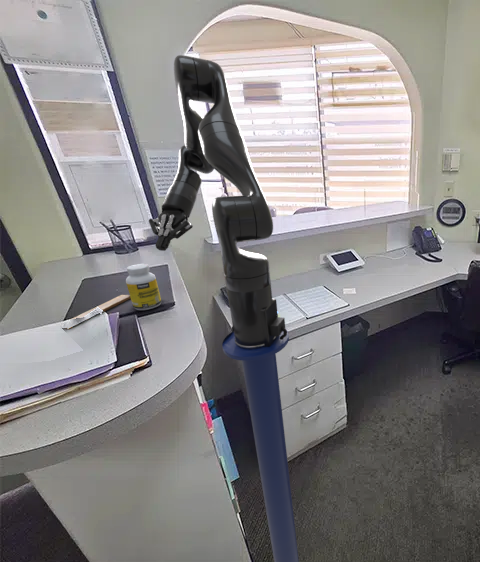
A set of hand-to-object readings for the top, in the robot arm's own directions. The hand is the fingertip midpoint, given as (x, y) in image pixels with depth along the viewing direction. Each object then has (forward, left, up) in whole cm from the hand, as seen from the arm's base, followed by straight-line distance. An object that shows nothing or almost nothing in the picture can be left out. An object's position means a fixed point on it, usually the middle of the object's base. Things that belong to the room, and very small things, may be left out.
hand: (160, 249), depth 89 cm
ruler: (+10, +14, -14) cm, 22 cm away
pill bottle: (0, +9, -14) cm, 17 cm away
